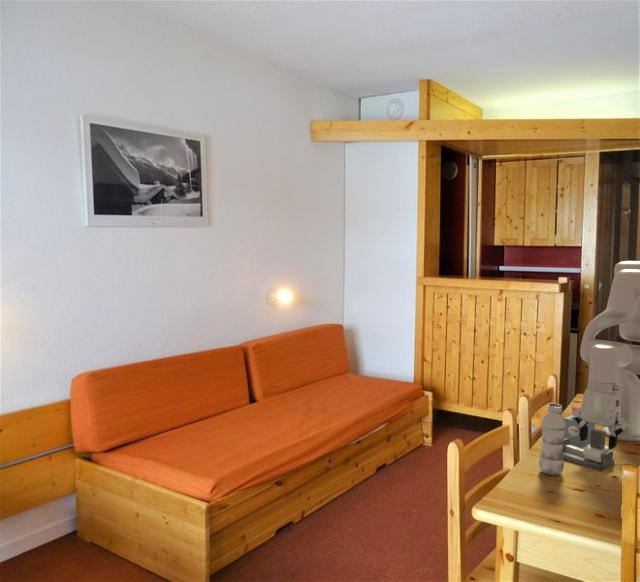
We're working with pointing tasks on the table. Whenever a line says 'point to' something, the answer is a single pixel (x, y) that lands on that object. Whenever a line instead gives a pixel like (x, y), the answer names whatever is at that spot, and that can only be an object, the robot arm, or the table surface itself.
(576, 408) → the button
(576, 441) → the gauge cabinet
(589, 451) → the carriage
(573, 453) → the track
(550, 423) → the plastic bottle
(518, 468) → the table surface
